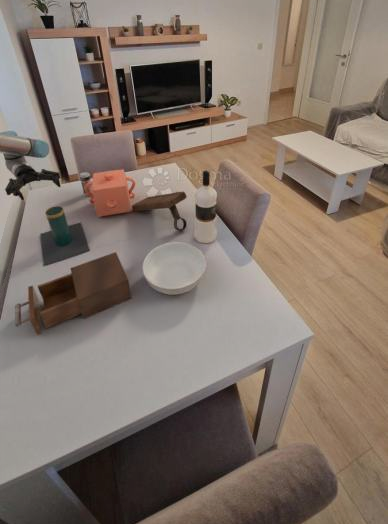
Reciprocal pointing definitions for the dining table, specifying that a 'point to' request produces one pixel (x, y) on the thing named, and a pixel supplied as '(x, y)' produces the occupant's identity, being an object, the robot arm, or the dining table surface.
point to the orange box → (110, 192)
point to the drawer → (50, 303)
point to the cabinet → (100, 284)
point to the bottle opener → (163, 205)
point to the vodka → (205, 211)
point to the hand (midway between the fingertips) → (41, 190)
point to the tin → (59, 225)
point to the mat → (60, 253)
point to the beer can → (84, 180)
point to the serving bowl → (174, 267)
